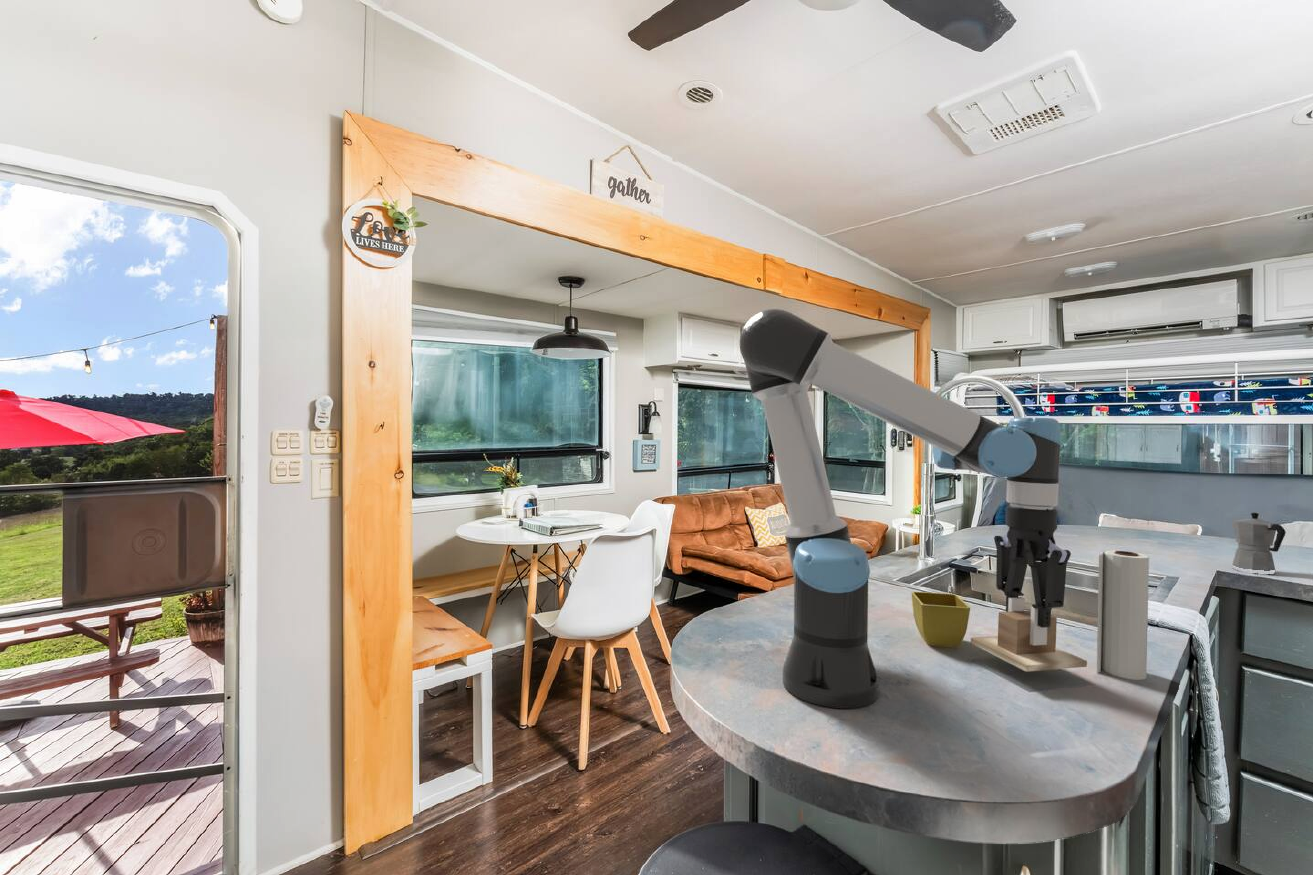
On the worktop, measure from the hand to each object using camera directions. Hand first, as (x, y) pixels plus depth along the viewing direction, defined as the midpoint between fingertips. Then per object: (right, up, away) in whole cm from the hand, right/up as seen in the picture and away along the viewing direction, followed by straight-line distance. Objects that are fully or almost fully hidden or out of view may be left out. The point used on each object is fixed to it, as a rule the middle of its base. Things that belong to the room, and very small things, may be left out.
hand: (1026, 638), depth 98 cm
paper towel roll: (+17, -6, 0) cm, 18 cm away
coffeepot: (+118, -6, +72) cm, 138 cm away
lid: (0, -3, 0) cm, 3 cm away
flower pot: (-9, -6, +13) cm, 17 cm away
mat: (0, -6, 0) cm, 6 cm away
